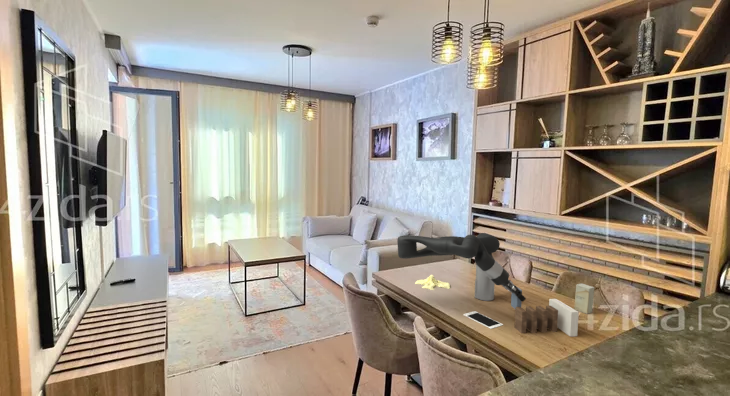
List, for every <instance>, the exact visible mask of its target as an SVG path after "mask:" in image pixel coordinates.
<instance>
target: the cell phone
mask: <svg viewBox="0 0 730 396" xmlns="http://www.w3.org/2000/svg"><path fill="white" fill-rule="evenodd" d="M462 315H463V316H464V317H466V318H469V319H470V320H472V321H474V322H476V323H478V324H480V325H482V326H484V327H487V328H489V329H490V330H492V329H493V330H494V329H496V328H498V327H501V326H504V324H503V323H501V322H499V321H497V320H495V319H492V318H491V317H488V316H487V315H484V314H482V313H480V312H478V311H475V310H474V311H469V312H467V313H466V312H465V313H463V314H462Z"/></svg>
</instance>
